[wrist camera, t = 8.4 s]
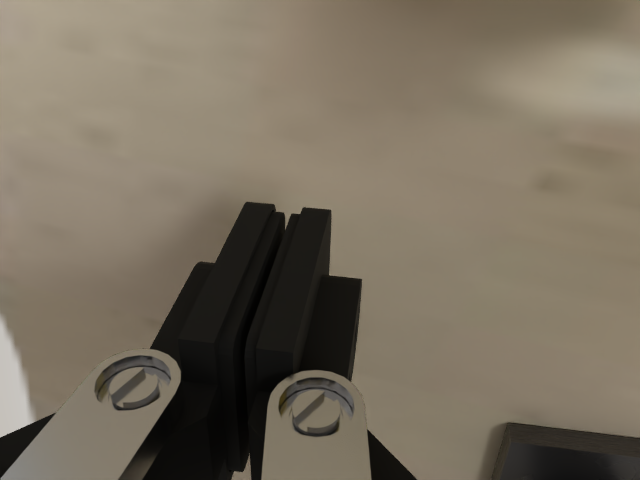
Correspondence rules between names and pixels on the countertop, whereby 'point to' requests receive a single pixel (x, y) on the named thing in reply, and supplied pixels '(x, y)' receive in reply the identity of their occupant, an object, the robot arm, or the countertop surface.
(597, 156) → the countertop surface
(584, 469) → the dark grey faucet base
